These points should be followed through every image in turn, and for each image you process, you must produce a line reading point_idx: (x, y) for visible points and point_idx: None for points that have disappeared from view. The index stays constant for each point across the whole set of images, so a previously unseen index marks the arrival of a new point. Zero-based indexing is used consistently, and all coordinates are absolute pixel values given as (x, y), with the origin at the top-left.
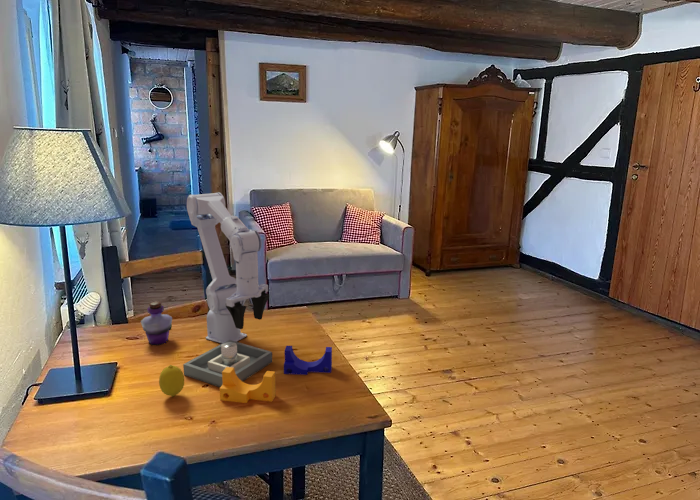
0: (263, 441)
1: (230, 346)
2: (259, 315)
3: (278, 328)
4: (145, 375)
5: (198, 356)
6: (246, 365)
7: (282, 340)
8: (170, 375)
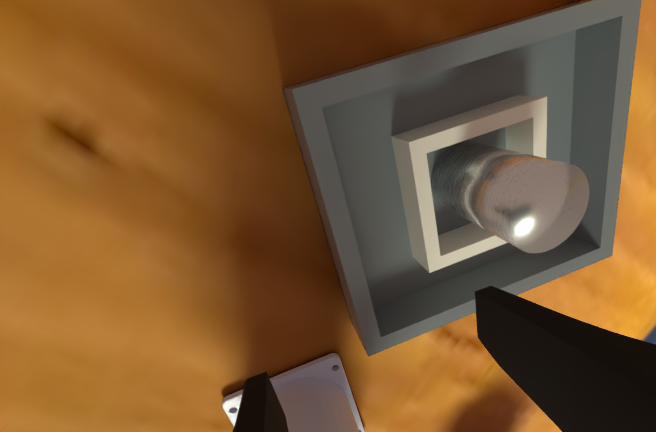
0: None
1: (555, 192)
2: (272, 412)
3: (22, 410)
4: (615, 299)
5: (544, 281)
6: (500, 48)
7: (79, 278)
8: None
